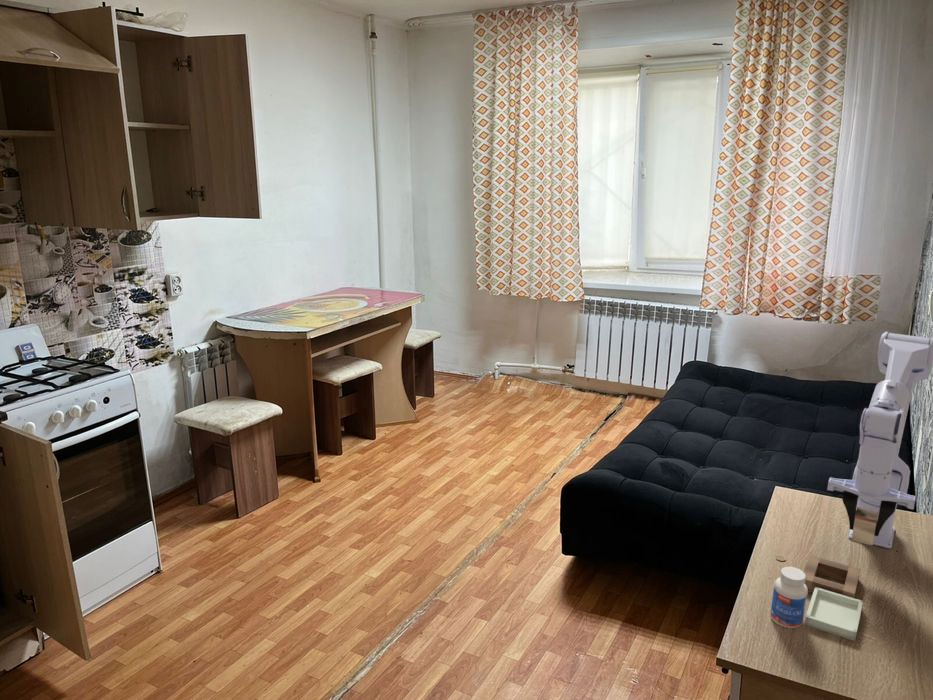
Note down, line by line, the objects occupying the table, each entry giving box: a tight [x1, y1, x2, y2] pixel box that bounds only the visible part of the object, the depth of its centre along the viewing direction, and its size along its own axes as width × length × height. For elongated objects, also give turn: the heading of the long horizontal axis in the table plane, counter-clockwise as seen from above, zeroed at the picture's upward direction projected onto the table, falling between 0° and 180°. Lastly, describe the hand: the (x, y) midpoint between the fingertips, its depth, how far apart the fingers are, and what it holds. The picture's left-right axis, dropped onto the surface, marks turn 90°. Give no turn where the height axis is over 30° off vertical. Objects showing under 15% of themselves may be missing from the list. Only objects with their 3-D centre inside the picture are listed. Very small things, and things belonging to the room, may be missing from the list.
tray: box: [804, 587, 864, 642], centre depth 127 cm, size 10×8×2 cm
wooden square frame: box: [803, 554, 861, 599], centre depth 136 cm, size 9×9×2 cm
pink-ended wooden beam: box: [851, 507, 879, 546], centre depth 138 cm, size 4×4×6 cm
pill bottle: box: [770, 566, 809, 629], centre depth 126 cm, size 6×5×10 cm
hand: (864, 530), depth 138 cm, fingers closed on pink-ended wooden beam, 4 cm apart
